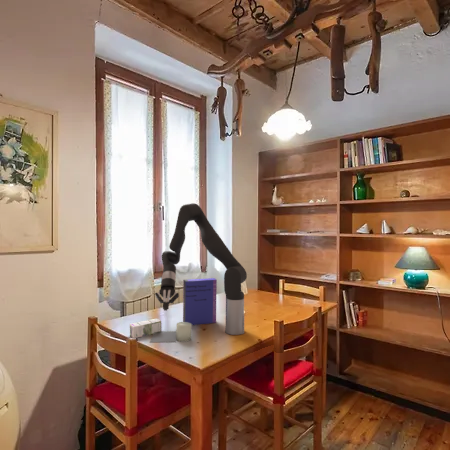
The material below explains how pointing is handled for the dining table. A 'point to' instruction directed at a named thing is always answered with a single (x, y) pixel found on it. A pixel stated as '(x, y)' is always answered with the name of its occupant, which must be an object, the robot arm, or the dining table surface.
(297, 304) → the dining table surface
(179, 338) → the pillar candle
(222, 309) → the dining table surface
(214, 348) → the dining table surface
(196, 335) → the dining table surface
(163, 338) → the felt mat
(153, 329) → the syrup box
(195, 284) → the purple book
